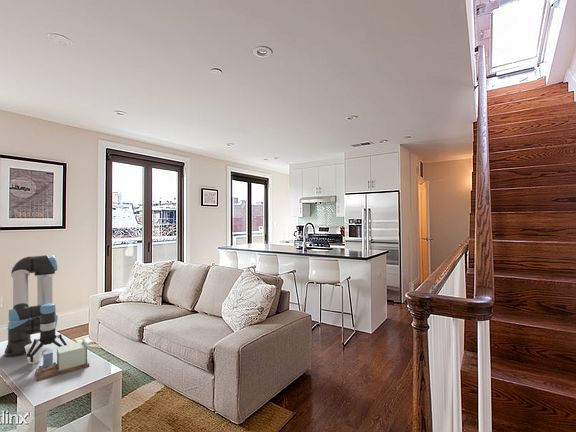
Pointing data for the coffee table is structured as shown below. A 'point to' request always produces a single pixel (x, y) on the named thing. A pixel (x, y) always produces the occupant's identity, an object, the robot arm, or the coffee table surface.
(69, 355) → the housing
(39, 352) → the cup
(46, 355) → the jaw block
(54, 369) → the board
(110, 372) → the coffee table surface
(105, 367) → the coffee table surface
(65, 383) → the coffee table surface
